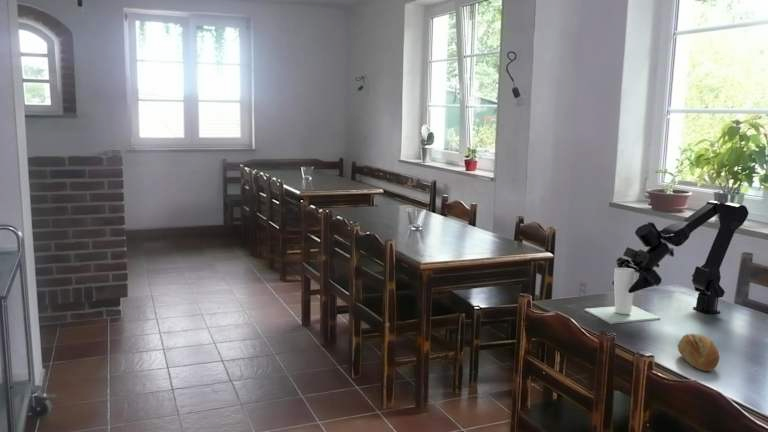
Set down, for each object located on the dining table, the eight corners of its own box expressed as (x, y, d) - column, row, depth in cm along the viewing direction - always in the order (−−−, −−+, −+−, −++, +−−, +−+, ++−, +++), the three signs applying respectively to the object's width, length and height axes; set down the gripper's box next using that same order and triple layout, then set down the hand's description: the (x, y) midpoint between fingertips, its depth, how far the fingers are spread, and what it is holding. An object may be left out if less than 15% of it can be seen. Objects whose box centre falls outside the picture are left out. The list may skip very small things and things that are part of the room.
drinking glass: (636, 312, 223) (638, 269, 221) (629, 316, 217) (631, 271, 216) (616, 309, 227) (618, 266, 226) (609, 312, 222) (611, 269, 220)
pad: (631, 306, 232) (631, 305, 232) (660, 319, 219) (660, 317, 219) (584, 310, 226) (584, 308, 226) (610, 323, 213) (610, 322, 213)
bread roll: (688, 373, 175) (692, 345, 174) (669, 352, 190) (672, 326, 188) (725, 376, 174) (729, 347, 173) (703, 354, 189) (706, 328, 188)
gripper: (623, 234, 228) (592, 265, 227) (658, 246, 210) (624, 279, 209) (640, 255, 231) (609, 286, 230) (676, 269, 213) (642, 302, 213)
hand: (620, 288), depth 221 cm, fingers open, 9 cm apart
